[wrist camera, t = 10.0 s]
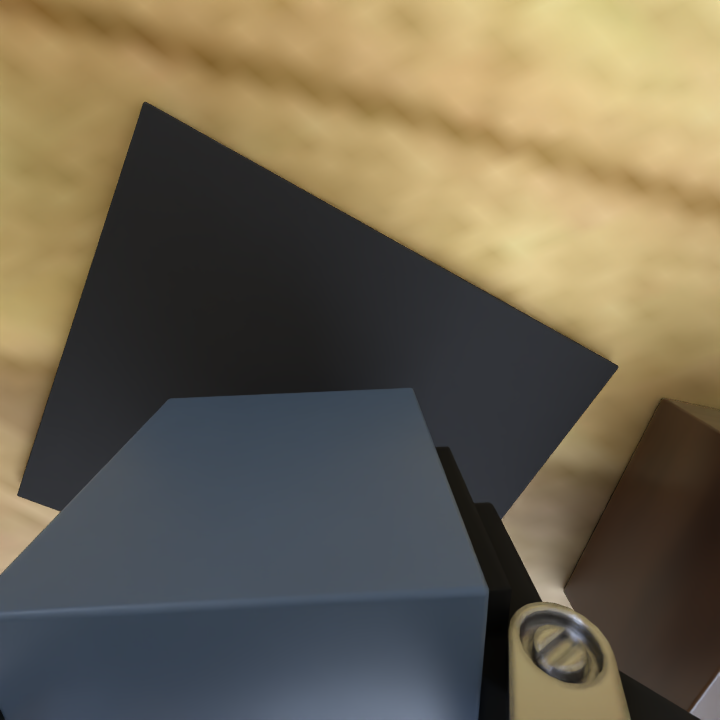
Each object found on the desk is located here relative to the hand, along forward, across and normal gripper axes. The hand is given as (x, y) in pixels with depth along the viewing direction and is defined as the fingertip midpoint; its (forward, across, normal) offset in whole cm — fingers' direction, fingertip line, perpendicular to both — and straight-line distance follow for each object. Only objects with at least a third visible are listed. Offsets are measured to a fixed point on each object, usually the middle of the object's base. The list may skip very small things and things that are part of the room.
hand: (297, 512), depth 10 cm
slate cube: (+1, 0, 0) cm, 1 cm away
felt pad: (+3, 0, 0) cm, 4 cm away
